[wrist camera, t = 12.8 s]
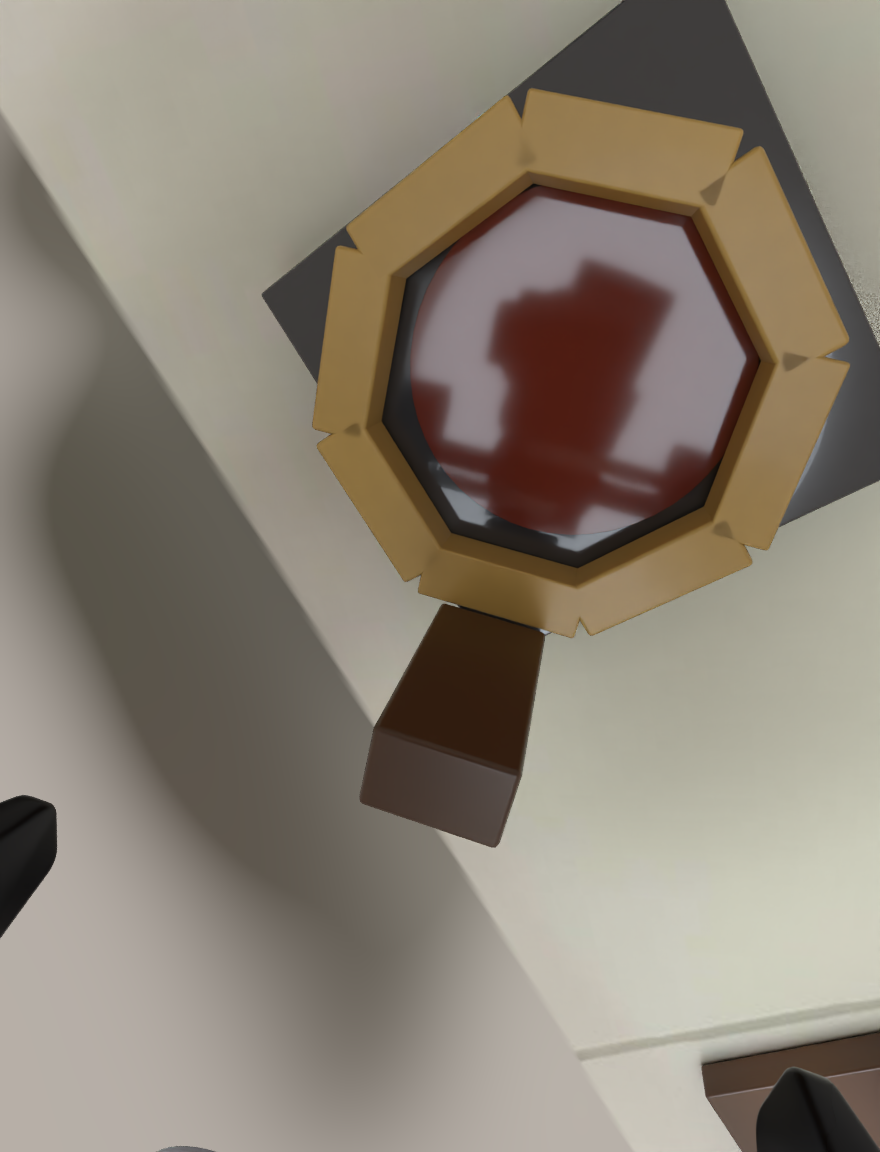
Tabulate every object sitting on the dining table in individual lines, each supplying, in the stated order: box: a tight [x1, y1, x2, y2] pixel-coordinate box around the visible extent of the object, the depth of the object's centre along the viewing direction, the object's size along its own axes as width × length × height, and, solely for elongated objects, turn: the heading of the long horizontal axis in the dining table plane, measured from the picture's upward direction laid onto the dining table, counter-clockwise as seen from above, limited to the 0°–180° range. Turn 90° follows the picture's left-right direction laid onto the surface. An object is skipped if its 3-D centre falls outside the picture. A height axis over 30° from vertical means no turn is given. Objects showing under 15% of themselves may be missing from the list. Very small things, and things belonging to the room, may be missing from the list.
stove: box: [262, 0, 880, 636], centre depth 14 cm, size 10×10×2 cm
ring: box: [312, 88, 850, 847], centre depth 11 cm, size 10×11×6 cm
